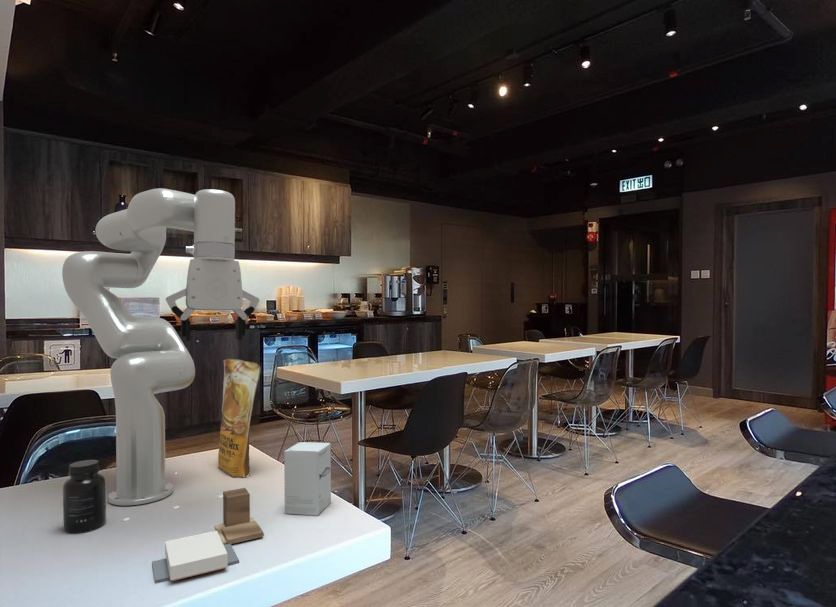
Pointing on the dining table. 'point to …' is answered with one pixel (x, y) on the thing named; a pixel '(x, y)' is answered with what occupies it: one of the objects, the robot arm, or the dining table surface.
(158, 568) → the mat
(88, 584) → the dining table surface
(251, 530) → the wooden block stack
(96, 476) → the supplement bottle
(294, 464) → the supplement box
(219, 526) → the pad
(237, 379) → the pancake mix bag
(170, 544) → the tile
